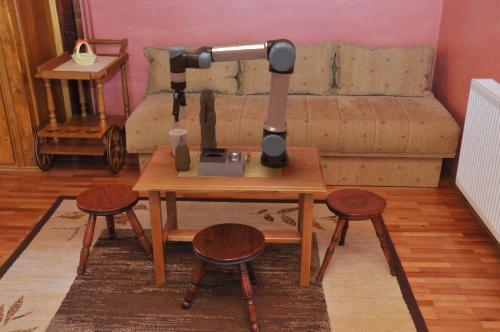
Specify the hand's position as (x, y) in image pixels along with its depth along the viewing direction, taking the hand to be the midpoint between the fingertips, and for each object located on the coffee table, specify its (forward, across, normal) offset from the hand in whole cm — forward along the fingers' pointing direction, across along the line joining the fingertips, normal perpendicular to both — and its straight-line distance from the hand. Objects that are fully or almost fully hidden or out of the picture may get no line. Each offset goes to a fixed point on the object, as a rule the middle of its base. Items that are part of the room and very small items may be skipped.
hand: (180, 123), depth 255 cm
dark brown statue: (+25, -21, +10) cm, 34 cm away
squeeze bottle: (+25, 0, 0) cm, 25 cm away
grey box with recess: (+24, -2, +20) cm, 32 cm away
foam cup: (+25, -19, -6) cm, 32 cm away
